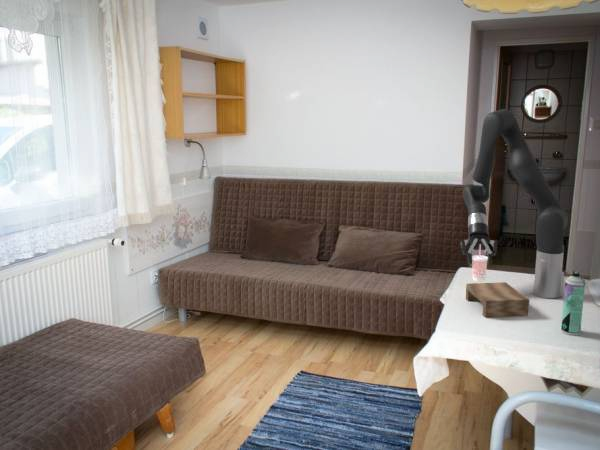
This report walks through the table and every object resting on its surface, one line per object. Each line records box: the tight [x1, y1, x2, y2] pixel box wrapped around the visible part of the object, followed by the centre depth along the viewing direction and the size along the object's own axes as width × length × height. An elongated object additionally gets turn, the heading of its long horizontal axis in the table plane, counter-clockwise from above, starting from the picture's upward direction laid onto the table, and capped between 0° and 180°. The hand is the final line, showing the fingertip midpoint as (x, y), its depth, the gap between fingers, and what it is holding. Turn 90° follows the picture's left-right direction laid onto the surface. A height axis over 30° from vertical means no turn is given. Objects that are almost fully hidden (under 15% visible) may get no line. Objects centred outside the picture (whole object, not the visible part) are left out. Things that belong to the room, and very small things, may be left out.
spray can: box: [560, 270, 586, 336], centre depth 174 cm, size 6×6×20 cm
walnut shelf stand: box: [465, 282, 530, 319], centre depth 198 cm, size 15×19×6 cm
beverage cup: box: [472, 244, 488, 282], centre depth 212 cm, size 6×6×14 cm
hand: (480, 263), depth 210 cm, fingers closed on beverage cup, 6 cm apart
